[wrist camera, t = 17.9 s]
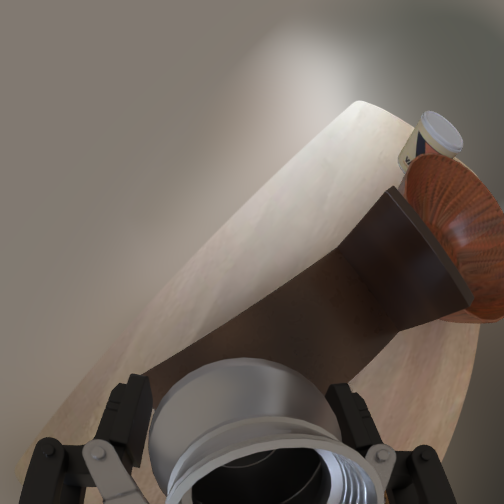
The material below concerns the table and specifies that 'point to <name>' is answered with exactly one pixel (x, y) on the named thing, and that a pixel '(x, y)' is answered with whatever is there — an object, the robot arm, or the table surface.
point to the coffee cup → (431, 139)
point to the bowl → (461, 229)
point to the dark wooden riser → (338, 304)
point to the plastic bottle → (254, 440)
